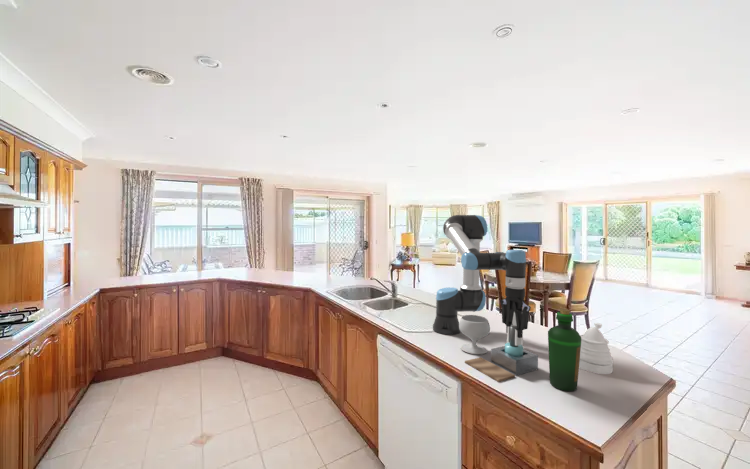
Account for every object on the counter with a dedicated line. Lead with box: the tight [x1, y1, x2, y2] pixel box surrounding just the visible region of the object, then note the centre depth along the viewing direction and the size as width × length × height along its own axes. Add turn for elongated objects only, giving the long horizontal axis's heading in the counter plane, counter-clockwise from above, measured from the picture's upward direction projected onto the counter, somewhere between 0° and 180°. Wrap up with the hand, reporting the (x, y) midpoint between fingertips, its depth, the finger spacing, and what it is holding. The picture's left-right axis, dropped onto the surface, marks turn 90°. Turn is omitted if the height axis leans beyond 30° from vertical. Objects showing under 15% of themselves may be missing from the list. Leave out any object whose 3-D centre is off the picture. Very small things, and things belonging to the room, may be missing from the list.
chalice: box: [459, 314, 491, 355], centre depth 145 cm, size 14×14×15 cm
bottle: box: [547, 308, 581, 392], centre depth 112 cm, size 11×11×28 cm
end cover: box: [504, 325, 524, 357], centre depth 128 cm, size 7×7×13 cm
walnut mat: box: [464, 356, 516, 383], centre depth 125 cm, size 18×9×1 cm, turn 25°
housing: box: [490, 345, 539, 377], centre depth 128 cm, size 13×13×6 cm
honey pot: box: [579, 322, 614, 375], centre depth 128 cm, size 13×13×18 cm
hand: (514, 343), depth 128 cm, fingers closed on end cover, 3 cm apart
